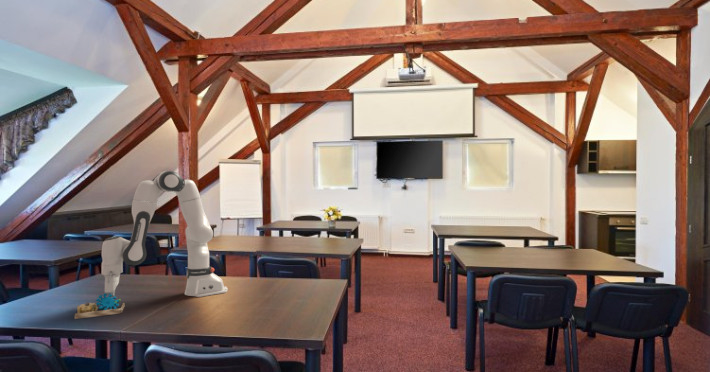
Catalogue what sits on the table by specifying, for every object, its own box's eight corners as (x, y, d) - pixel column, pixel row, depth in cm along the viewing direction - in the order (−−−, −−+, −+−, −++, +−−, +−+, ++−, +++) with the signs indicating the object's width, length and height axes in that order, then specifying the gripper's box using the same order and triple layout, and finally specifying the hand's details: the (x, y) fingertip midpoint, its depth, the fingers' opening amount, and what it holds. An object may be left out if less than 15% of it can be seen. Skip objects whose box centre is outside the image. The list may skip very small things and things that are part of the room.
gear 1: (98, 308, 178) (98, 299, 178) (95, 312, 171) (95, 303, 171) (79, 310, 175) (79, 301, 175) (75, 315, 168) (75, 305, 168)
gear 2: (100, 311, 171) (94, 293, 175) (94, 319, 172) (88, 301, 176) (124, 308, 180) (118, 291, 185) (118, 315, 182) (112, 298, 186)
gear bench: (124, 305, 184) (124, 301, 184) (121, 313, 173) (121, 308, 173) (80, 310, 176) (80, 306, 176) (74, 318, 165) (74, 314, 165)
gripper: (116, 273, 176) (116, 302, 176) (122, 265, 194) (121, 291, 194) (100, 274, 173) (100, 304, 173) (107, 266, 192) (107, 293, 192)
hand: (111, 297), depth 184 cm, fingers closed
